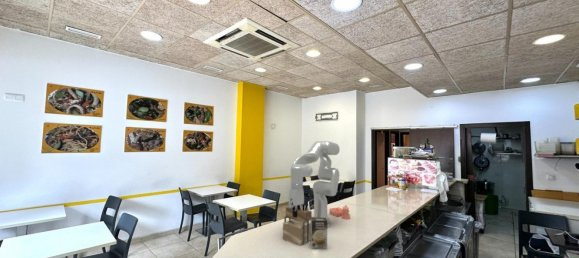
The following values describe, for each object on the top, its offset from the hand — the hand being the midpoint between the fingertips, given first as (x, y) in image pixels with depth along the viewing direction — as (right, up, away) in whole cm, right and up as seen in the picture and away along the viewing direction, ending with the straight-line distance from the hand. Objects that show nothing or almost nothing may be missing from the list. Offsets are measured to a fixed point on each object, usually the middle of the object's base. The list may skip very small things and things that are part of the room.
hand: (296, 216), depth 148 cm
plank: (0, -2, 0) cm, 2 cm away
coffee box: (+12, -15, -10) cm, 21 cm away
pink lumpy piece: (+38, -18, +48) cm, 64 cm away
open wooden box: (+3, -15, +3) cm, 15 cm away
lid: (+3, -6, +4) cm, 8 cm away
